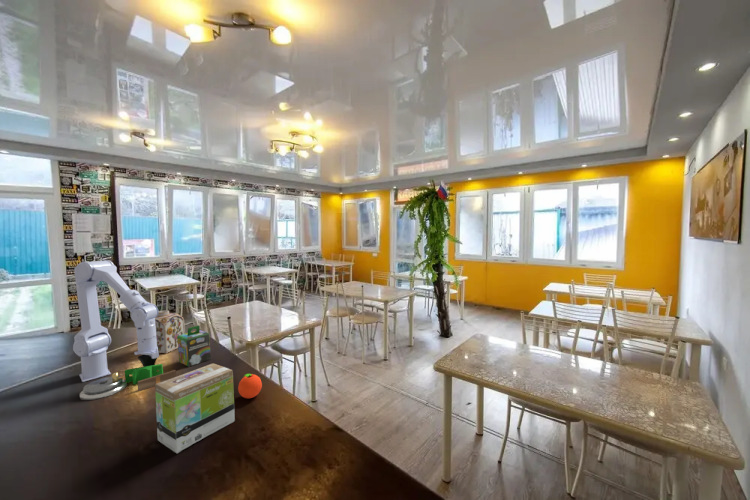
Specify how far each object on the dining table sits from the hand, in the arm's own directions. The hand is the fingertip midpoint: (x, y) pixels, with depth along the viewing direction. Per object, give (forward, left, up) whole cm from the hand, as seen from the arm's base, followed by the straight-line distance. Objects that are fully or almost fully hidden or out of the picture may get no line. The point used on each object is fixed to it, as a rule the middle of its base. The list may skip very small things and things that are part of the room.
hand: (149, 373), depth 115 cm
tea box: (+51, -1, -1) cm, 52 cm away
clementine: (+45, +16, -1) cm, 48 cm away
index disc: (+1, -13, 0) cm, 13 cm away
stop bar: (+11, 0, -1) cm, 11 cm away
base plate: (0, -13, -1) cm, 13 cm away
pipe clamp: (+3, -3, -1) cm, 4 cm away
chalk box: (-1, +16, -1) cm, 16 cm away
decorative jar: (-30, +13, -1) cm, 32 cm away
